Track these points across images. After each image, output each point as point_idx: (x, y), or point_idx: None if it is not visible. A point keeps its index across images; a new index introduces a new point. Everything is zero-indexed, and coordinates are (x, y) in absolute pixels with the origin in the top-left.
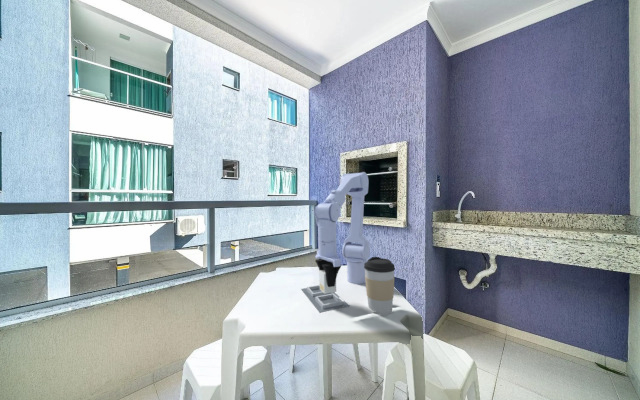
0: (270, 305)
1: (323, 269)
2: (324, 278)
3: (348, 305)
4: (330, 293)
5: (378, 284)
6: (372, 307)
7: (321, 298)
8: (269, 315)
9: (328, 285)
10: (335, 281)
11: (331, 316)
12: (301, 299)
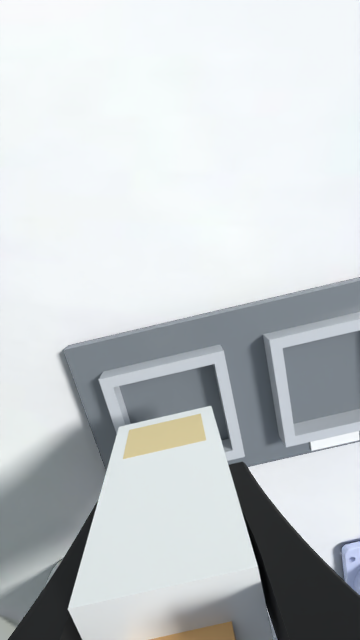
0: (242, 38)
1: (276, 619)
2: (88, 543)
3: None
4: (279, 435)
5: None
6: None
7: (217, 381)
8: (100, 37)
9: (94, 506)
10: None
11: (54, 396)
12: (276, 264)
